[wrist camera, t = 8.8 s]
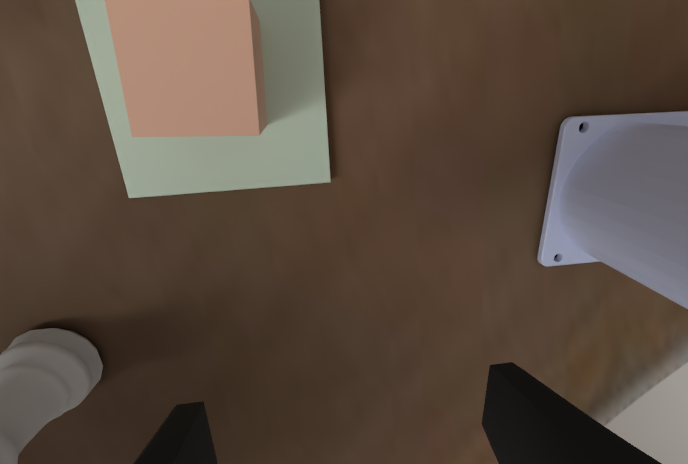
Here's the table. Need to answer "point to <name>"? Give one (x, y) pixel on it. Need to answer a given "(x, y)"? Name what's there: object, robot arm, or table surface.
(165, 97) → the terracotta brick
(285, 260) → the table surface
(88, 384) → the rook chess piece
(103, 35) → the base tile
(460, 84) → the table surface
